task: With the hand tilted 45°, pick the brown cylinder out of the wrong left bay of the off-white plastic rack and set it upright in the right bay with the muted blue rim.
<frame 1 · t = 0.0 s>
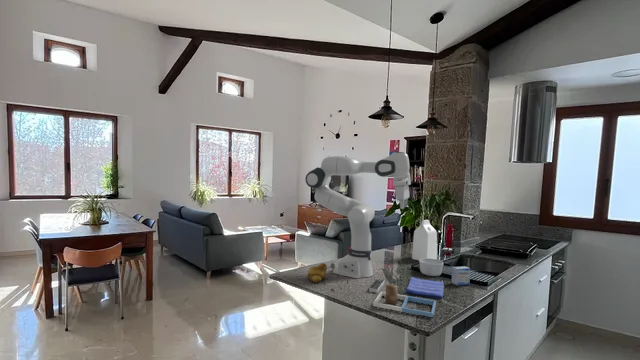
hand: (404, 207, 180), 39 cm above the counter, tool pointing down, fingers open, 8 cm apart
medicine box: (460, 284, 177), on the counter
multiport hub: (376, 289, 168), on the counter
sorting rack: (404, 306, 146), on the counter
brown cylinder: (391, 303, 149), resting in sorting rack
milk: (424, 259, 225), on the counter
ramekin: (430, 273, 194), on the counter
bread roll: (316, 280, 178), on the counter
dish towel: (425, 290, 169), on the counter
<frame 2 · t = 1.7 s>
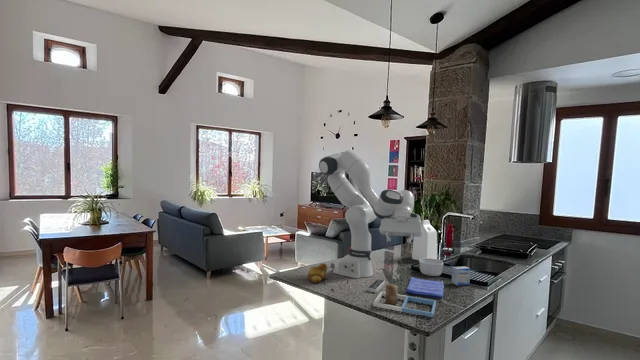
hand: (398, 242, 158), 25 cm above the counter, tool tilted 45°, fingers open, 8 cm apart
nothing on the counter moved.
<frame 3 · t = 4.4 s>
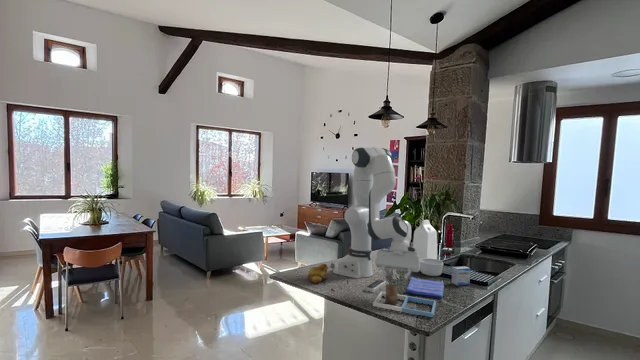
hand: (395, 277, 153), 10 cm above the counter, tool tilted 45°, fingers open, 8 cm apart
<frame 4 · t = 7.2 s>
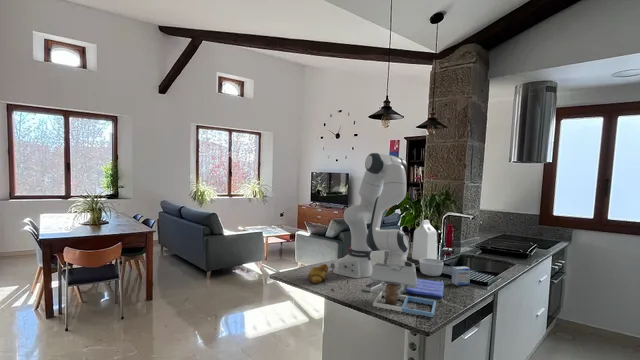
hand: (391, 293, 148), 5 cm above the counter, tool tilted 45°, fingers closed on brown cylinder, 5 cm apart
brown cylinder: (391, 303, 149), resting in sorting rack, touching gripper
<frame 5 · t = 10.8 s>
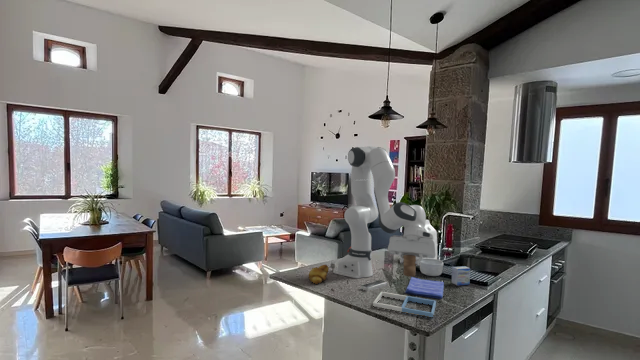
hand: (409, 263, 144), 19 cm above the counter, tool tilted 45°, fingers closed on brown cylinder, 5 cm apart
brown cylinder: (409, 274, 145), point 14 cm above the counter, touching gripper
when the fingers open (6 cm above the counter, at t = 14.3 s): brown cylinder drops 1 cm, resting in sorting rack.
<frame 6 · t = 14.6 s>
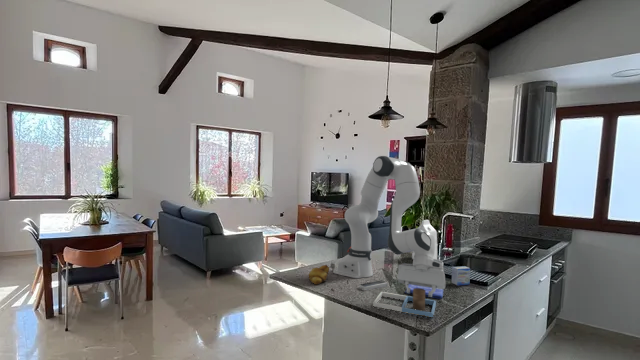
hand: (419, 294, 143), 6 cm above the counter, tool tilted 45°, fingers open, 8 cm apart
brown cylinder: (418, 308, 144), resting in sorting rack
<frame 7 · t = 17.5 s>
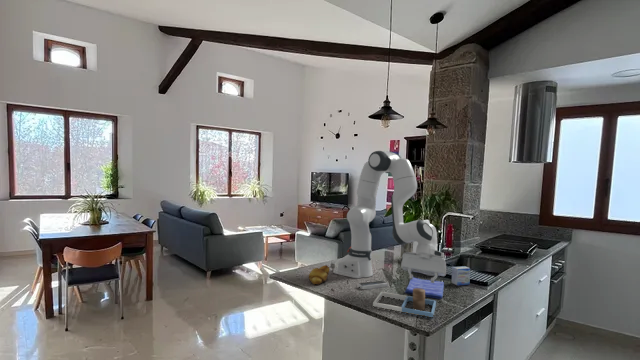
hand: (421, 280, 154), 9 cm above the counter, tool tilted 45°, fingers open, 8 cm apart
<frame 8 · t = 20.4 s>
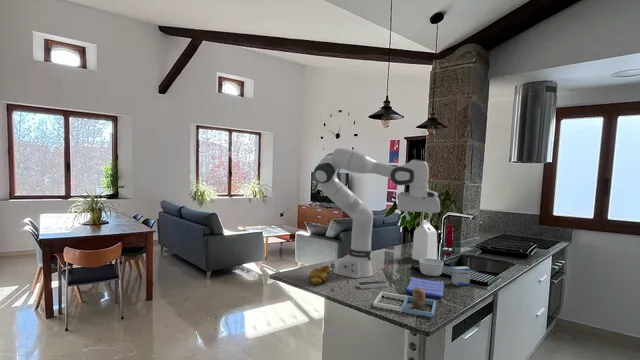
hand: (417, 220, 165), 34 cm above the counter, tool pointing down, fingers open, 8 cm apart
at the end: brown cylinder 0.1 cm from the target spot on the sorting rack, point 0.0 cm above the sorting rack's base; brown cylinder tilted 1°; the gripper is holding nothing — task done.
